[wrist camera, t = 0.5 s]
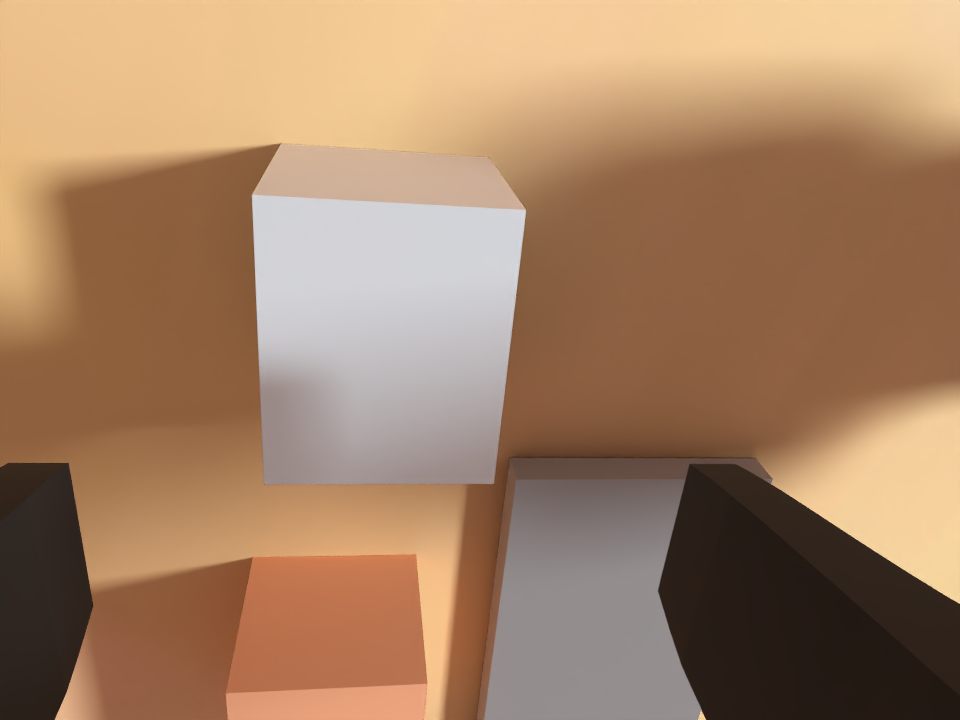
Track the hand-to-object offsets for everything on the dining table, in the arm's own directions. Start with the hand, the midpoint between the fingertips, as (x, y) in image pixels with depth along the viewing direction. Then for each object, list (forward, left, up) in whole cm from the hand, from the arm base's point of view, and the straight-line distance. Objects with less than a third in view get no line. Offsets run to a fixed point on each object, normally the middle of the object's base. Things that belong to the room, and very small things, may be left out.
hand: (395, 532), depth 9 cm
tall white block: (0, 0, -9) cm, 9 cm away
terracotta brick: (+1, +11, -9) cm, 15 cm away
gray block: (-7, +12, -9) cm, 17 cm away
